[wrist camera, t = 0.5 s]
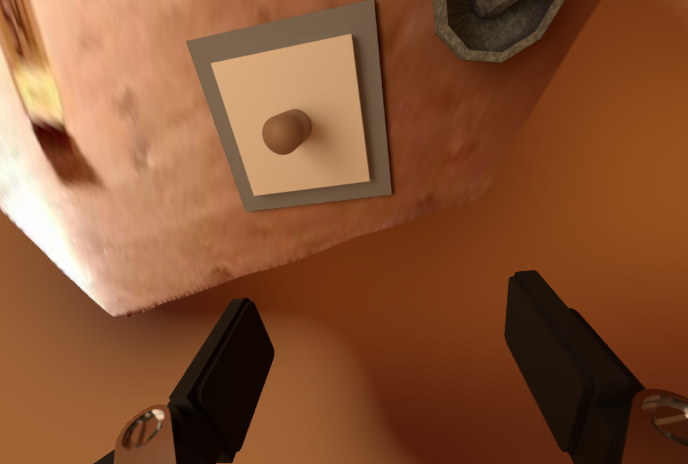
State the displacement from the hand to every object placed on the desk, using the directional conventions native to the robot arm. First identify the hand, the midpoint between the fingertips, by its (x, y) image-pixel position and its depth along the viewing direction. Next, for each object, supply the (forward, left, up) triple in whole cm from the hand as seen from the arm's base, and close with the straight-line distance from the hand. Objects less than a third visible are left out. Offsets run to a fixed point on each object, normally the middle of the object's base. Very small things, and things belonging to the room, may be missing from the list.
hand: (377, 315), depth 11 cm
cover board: (-4, -8, -27) cm, 29 cm away
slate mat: (-4, -8, -28) cm, 29 cm away
